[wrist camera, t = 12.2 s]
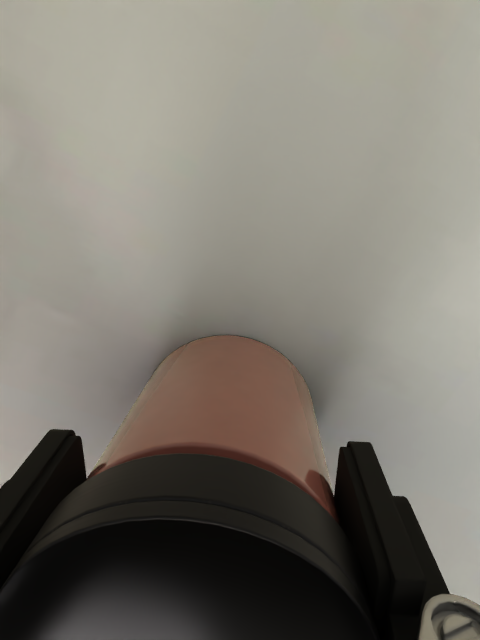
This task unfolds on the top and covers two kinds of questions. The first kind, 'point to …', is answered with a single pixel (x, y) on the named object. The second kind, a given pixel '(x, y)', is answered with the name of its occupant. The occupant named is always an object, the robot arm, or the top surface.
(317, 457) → the cream jar
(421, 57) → the top surface
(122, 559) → the jar lid
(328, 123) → the top surface
